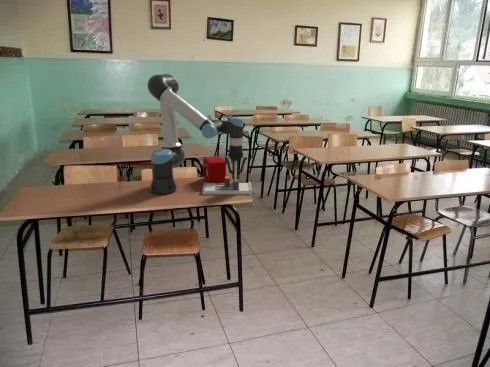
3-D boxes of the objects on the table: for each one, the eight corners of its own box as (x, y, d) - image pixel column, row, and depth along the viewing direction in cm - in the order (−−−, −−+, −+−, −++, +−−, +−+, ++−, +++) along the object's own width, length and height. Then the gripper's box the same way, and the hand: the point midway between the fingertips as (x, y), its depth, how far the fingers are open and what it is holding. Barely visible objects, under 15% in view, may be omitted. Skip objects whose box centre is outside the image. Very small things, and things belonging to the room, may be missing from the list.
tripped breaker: (224, 186, 232) (224, 177, 230) (224, 184, 235) (224, 176, 233) (229, 186, 232) (229, 177, 231) (229, 184, 235) (229, 176, 233)
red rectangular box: (203, 178, 257) (202, 155, 253) (219, 177, 260) (219, 154, 256) (208, 185, 242) (208, 161, 238) (225, 184, 245) (225, 160, 241)
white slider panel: (202, 194, 227) (202, 181, 224) (203, 186, 241) (203, 174, 239) (251, 194, 228) (252, 181, 226) (250, 186, 242) (250, 173, 240)
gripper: (224, 146, 223) (224, 186, 230) (247, 146, 223) (247, 186, 230) (224, 143, 230) (224, 182, 237) (247, 143, 231) (246, 182, 238)
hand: (235, 184), depth 234 cm, fingers closed
